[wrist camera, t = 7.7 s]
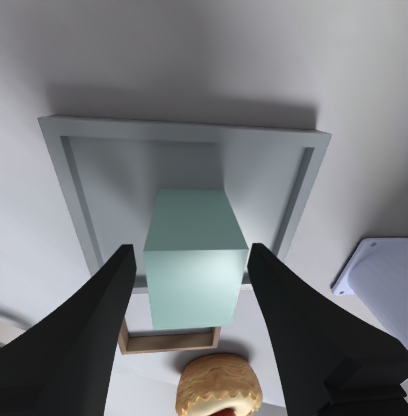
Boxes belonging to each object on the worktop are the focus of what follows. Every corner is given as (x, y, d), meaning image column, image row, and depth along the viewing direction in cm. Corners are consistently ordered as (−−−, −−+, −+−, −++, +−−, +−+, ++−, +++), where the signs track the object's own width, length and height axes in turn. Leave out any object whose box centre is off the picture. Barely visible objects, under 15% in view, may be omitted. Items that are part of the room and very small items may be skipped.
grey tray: (316, 129, 13) (332, 134, 11) (267, 275, 20) (273, 288, 18) (55, 114, 11) (37, 117, 10) (104, 279, 18) (97, 295, 17)
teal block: (224, 190, 14) (249, 249, 8) (216, 253, 17) (231, 325, 11) (158, 189, 13) (142, 251, 8) (163, 254, 16) (153, 330, 11)
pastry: (263, 345, 29) (294, 434, 21) (237, 380, 34) (255, 461, 27) (184, 346, 26) (188, 449, 19) (170, 384, 32) (168, 476, 24)
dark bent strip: (222, 292, 21) (225, 305, 19) (215, 334, 25) (216, 348, 24) (112, 296, 19) (107, 310, 18) (125, 340, 24) (121, 354, 22)
